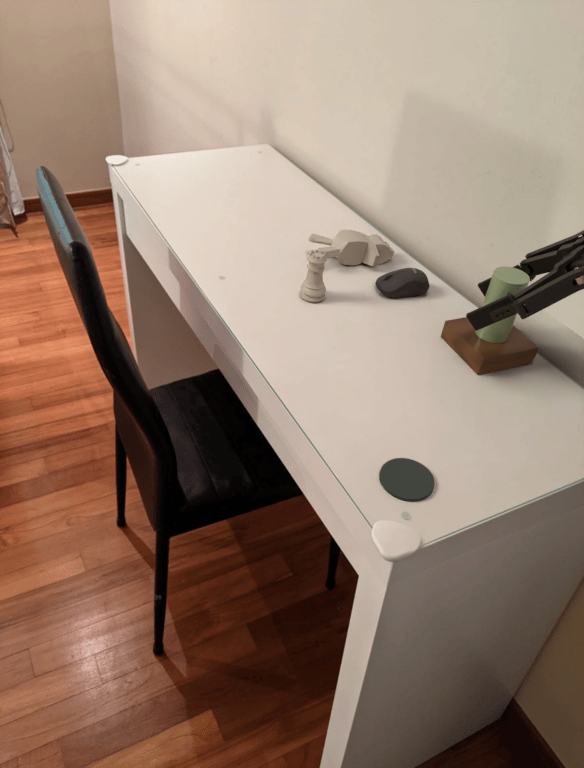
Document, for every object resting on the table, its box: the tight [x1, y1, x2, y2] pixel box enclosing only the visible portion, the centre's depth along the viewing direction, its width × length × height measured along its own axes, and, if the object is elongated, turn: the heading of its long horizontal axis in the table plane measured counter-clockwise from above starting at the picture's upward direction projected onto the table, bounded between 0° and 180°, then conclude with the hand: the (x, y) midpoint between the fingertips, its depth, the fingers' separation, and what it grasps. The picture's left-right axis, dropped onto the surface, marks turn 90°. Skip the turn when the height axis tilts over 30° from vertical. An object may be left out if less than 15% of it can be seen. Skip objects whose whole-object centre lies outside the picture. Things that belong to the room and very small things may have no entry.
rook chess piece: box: [299, 248, 328, 304], centre depth 99 cm, size 4×4×8 cm
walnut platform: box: [440, 316, 540, 376], centre depth 93 cm, size 10×10×3 cm
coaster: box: [378, 457, 435, 502], centre depth 71 cm, size 6×6×1 cm
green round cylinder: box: [475, 266, 531, 343], centre depth 89 cm, size 5×5×10 cm
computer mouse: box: [374, 267, 430, 299], centre depth 104 cm, size 6×9×4 cm, turn 104°
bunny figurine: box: [308, 229, 395, 267], centre depth 111 cm, size 10×5×15 cm
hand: (477, 306), depth 90 cm, fingers open, 9 cm apart
